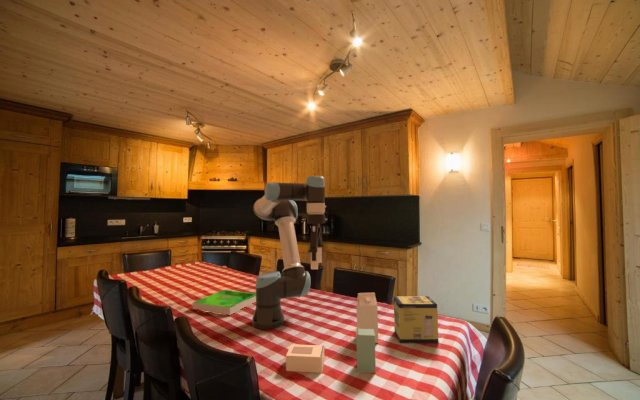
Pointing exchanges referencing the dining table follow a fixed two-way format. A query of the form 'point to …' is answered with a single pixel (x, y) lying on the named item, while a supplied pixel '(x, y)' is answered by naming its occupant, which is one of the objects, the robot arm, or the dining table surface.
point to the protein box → (415, 319)
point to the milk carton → (367, 312)
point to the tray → (225, 302)
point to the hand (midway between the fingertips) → (316, 265)
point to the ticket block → (305, 358)
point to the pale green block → (365, 350)
